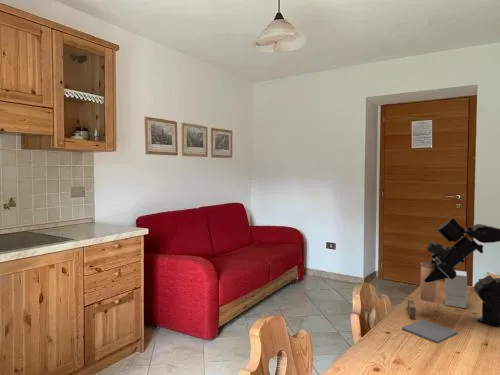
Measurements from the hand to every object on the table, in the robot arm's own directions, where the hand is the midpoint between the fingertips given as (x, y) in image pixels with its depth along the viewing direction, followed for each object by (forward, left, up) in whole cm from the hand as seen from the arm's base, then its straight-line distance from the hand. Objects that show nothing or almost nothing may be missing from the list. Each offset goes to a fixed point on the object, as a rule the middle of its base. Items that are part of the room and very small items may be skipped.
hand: (424, 279), depth 133 cm
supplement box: (-21, +1, -13) cm, 25 cm away
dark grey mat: (+12, +9, -13) cm, 20 cm away
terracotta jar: (-1, +1, -7) cm, 7 cm away
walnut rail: (+2, -3, -13) cm, 14 cm away
